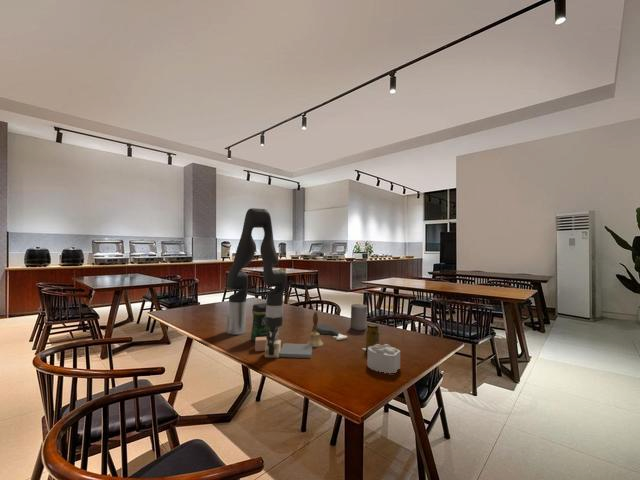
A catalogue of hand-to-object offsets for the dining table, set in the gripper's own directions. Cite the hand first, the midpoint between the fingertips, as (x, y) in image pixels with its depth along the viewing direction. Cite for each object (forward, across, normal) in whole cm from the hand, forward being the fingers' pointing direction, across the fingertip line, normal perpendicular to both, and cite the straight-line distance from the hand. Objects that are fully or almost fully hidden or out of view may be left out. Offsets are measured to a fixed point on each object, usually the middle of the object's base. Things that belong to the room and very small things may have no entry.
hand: (273, 351), depth 137 cm
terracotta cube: (+2, -7, -7) cm, 10 cm away
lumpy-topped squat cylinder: (+2, +9, +47) cm, 48 cm away
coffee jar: (+2, -21, -10) cm, 23 cm away
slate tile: (+2, -5, +10) cm, 11 cm away
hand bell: (+2, -17, +18) cm, 25 cm away
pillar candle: (+2, -51, +43) cm, 67 cm away
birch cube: (+2, 0, 0) cm, 2 cm away
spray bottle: (+2, -37, +26) cm, 45 cm away
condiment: (+2, -11, +46) cm, 47 cm away
